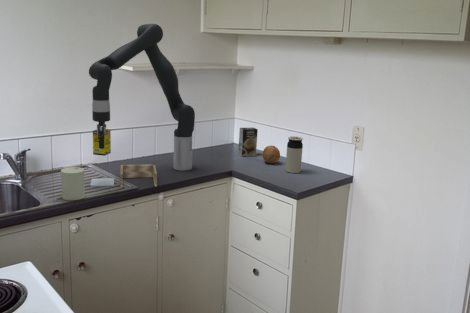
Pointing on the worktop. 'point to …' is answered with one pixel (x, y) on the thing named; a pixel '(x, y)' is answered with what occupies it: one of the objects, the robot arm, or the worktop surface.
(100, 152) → the supplement box
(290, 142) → the travel mug
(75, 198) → the can
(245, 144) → the coffee box
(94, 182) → the pad
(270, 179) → the worktop surface
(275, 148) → the onion
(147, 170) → the open wooden frame
